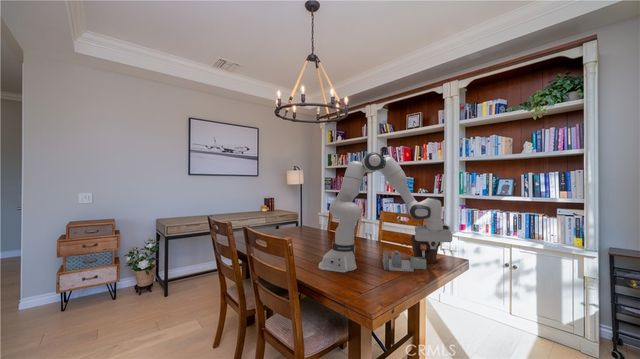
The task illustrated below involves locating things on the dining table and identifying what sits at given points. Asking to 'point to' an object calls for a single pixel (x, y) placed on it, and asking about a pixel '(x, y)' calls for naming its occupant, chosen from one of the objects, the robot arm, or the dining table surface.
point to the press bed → (389, 266)
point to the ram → (423, 248)
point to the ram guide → (418, 263)
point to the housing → (396, 258)
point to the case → (429, 253)
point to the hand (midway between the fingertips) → (433, 249)
